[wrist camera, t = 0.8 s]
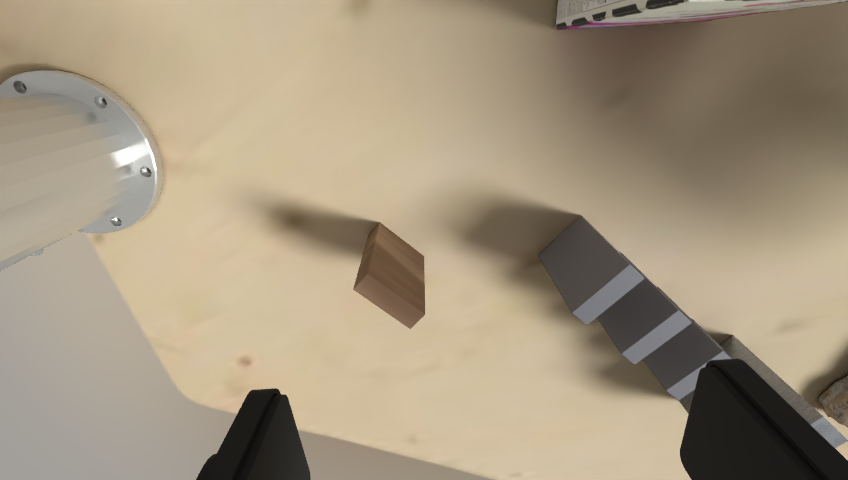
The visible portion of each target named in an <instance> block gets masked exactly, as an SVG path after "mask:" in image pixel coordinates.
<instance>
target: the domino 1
mask: <svg viewBox="0 0 848 480" xmlns="http://www.w3.org/2000/svg"><path fill="white" fill-rule="evenodd" d="M353 290H355V291H356V292H358V293H359V294H360V295H362V296H363V297H365V298H366V299H368V300H369V301H371V302H372V303H373V304H375V305H376V306H378V307H379V308H381V309H382V310H384V311H385V312H386V313H388V314H389V315H391V316H392V317H394V318H395V319H397V320H398V321H399V322H401V323H402V324H404V325H405V326H407V327H408V328H410V329H411V328H412V327H413V326H414V325H415V324H416V323H417V322H418V321H419V320H420V319H421V318H422V317H423V316H424V315H425V284H424V256H423V255H422V254H420V253H419V252H418V251H416V250H415V249H414V248H413V247H411V246H410V245H409V244H407V243H406V242H405V241H403V240H402V239H401V238H400V237H398V236H397V235H396V234H394V233H393V232H392V231H390V230H389V229H388V228H386V227H385V226H384V225H383V224H381V223H379V224H378V225H377V226H376V227H375V229H374V230H373V231H372V232H371V233H370V234H369V235H368V239H367V243H366V246H365V250H364V253H363V257H362V260H361V264H360V267H359V271H358V274H357V278H356V282H355V285H354V289H353Z"/></svg>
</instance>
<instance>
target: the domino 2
mask: <svg viewBox="0 0 848 480" xmlns="http://www.w3.org/2000/svg"><path fill="white" fill-rule="evenodd" d="M538 256H539V258H540V259H541V261H542V263H543V265H544V266H545V268H546V270H547V271H548V273H549V275H550V276H551V278H552V280H553V282H554V283H555V285H556V287H557V288H558V290H559V292H560V293H561V295H562V297H563V299H564V300H565V302H566V304H567V305H568V307H569V309H570V310H571V312H572V313H573V314H574V315H575V316H576V317H577V318H579V319H580V320H581V321H582V322H583V323H585V324H586V325H588V324H589V323H590V322H592V321H593V320H594V319H595V318H597V317H598V316H599V315H600V314H602V313H603V312H604V311H605V310H606V309H608V308H609V307H610V306H611V305H613V304H614V303H615V302H616V301H618V300H619V299H620V298H621V297H622V296H624V295H625V294H626V293H627V292H629V291H630V290H631V289H632V288H634V287H635V286H636V285H637V284H638V283H640V282H641V281H642V280H643V279H645V278H644V277H643V276H642V275H641V274H640V273H639V272H638V271H637V270H636V269H635V268H634V267H633V266H632V265H631V264H630V263H629V262H628V261H627V260H626V259H625V258H624V257H623V256H622V255H621V254H620V253H619V252H618V251H617V250H616V249H615V248H614V247H613V246H612V245H611V244H610V243H609V242H608V241H607V240H606V239H605V238H604V237H603V236H602V235H601V234H600V233H599V232H598V231H597V230H596V229H595V228H594V227H593V226H592V225H591V224H590V223H589V222H588V221H586V220H585V219H584V218H583V217H582V216H580V217H579V218H578V219H577V220H576V221H575V222H573V223H572V224H571V225H570V226H569V227H568V228H567V229H566V230H565V231H564V232H563V233H562V234H560V235H559V236H558V237H557V238H556V239H555V240H554V241H553V242H552V243H551V244H550V245H549V246H547V247H546V248H545V249H544V250H543V251H542V252H541V253H540V254H539V255H538Z"/></svg>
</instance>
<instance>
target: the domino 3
mask: <svg viewBox="0 0 848 480" xmlns="http://www.w3.org/2000/svg"><path fill="white" fill-rule="evenodd" d="M620 254H621V255H622V256H623V257H624V258H625V259H626V260H627V261H628V262H629V263H630V264H631V265H632V266H633V267H634V268H635V269H636V270H637V271H638V272H639V273H640V274H641V275H642V276H643V277H644V278H645V279H643V280H642V281H641V282H640V283H638V284H637V285H636V286H635V287H634V288H632V289H631V290H630V291H629V292H627V293H626V294H625V295H624V296H622V297H621V298H620V299H619V300H618V301H616V302H615V303H614V304H613V305H611V306H610V307H609V308H608V309H606V310H605V311H604V312H603V313H602V314H600V315H599V316H598V317H597V318H598V320H599V321H600V323H601V324H602V326H603V327H604V329H605V330H606V332H607V333H608V335H609V336H610V338H611V339H612V341H613V342H614V344H615V345H616V347H617V348H618V350H619V351H620V353H621V354H622V355H623V356H624V357H626V358H627V359H628V360H629V361H631V362H632V363H633V364H634V365H635V364H637V363H638V362H639V361H641V360H642V359H643V358H645V357H646V356H648V355H649V354H650V353H652V352H653V351H654V350H656V349H657V348H658V347H660V346H661V345H662V344H664V343H665V342H667V341H668V340H669V339H671V338H672V337H673V336H675V335H676V334H677V333H679V332H680V331H681V330H683V329H684V328H686V327H687V326H688V325H690V324H691V323H692V322H691V321H690V320H689V319H688V318H687V317H686V316H685V315H684V314H683V313H682V312H681V311H680V310H679V309H678V308H677V307H676V306H675V305H674V304H673V303H672V302H671V301H670V300H669V299H668V298H667V297H666V296H665V295H664V294H663V293H662V292H661V291H660V290H659V289H658V288H657V287H656V286H655V285H654V284H653V283H652V282H651V281H650V280H649V279H648V278H647V277H646V276H645V275H644V274H643V273H642V272H641V271H640V270H639V269H638V268H637V267H636V266H635V265H634V264H633V263H632V262H631V261H629V260H628V259H627V258H626V257H625V256H624V255H623V254H622V253H620Z"/></svg>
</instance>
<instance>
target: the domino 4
mask: <svg viewBox="0 0 848 480" xmlns="http://www.w3.org/2000/svg"><path fill="white" fill-rule="evenodd" d="M658 289H659V290H660V291H661V292H662V293H663V294H664V295H665V296H666V297H667V298H668V299H669V300H670V301H671V302H672V303H673V304H674V305H675V306H676V307H677V308H678V309H679V310H680V311H681V312H682V313H683V314H684V315H685V316H686V317H687V318H688V319H689V320H690V321H691V322H692V323H691V324H690V325H688V326H687V327H686V328H684V329H683V330H681V331H680V332H679V333H677V334H676V335H675V336H673V337H672V338H671V339H669V340H668V341H667V342H665V343H664V344H662V345H661V346H660V347H658V348H657V349H656V350H654V351H653V352H652V353H650V354H649V355H648V356H646V357H645V358H643V360H644V361H645V362H646V364H647V365H648V366H649V368H650V369H651V371H652V372H653V373H654V375H655V376H656V377H657V379H658V380H659V382H660V383H661V384H662V386H663V387H664V388H665V390H666V391H667V392H668V393H670V394H671V395H672V396H673V397H674V398H676V399H677V400H678V401H679V400H680V399H682V398H683V397H684V396H686V395H687V394H689V393H690V392H692V391H693V390H695V387H696V383H697V379H698V375H699V371H700V369H701V368H704V367H705V366H706V364H707V362H709V361H710V360H722V359H731V358H730V357H729V356H728V355H727V354H726V353H725V352H724V351H723V350H722V349H721V348H720V347H719V346H718V345H717V344H716V343H715V342H714V341H713V340H712V339H711V338H710V337H709V336H708V335H707V334H706V333H705V332H704V331H703V330H702V329H701V328H700V327H699V326H698V325H697V324H696V323H695V322H694V321H693V320H692V319H691V318H690V317H689V316H687V315H686V314H685V313H684V312H683V311H682V310H681V309H680V308H679V307H678V306H677V305H676V304H675V303H674V302H673V301H672V300H671V299H670V298H669V297H668V296H667V295H666V294H665V293H664V292H663V291H662V290H661V289H660V288H658Z"/></svg>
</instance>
